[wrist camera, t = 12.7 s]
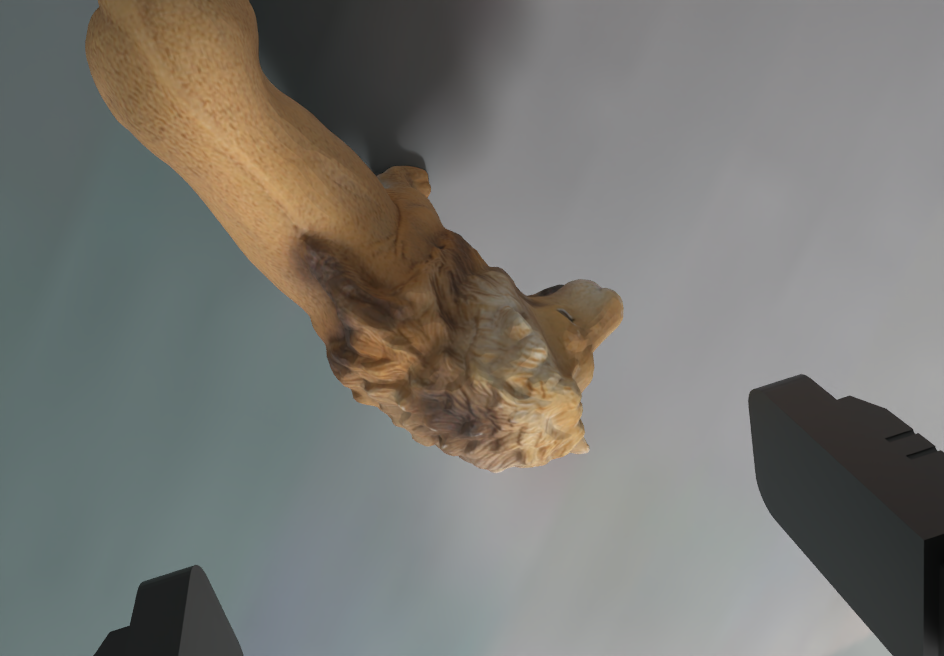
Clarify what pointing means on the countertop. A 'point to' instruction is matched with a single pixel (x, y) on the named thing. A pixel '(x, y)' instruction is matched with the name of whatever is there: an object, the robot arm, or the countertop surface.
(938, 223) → the countertop surface
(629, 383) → the countertop surface
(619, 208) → the countertop surface
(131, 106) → the lion figurine
